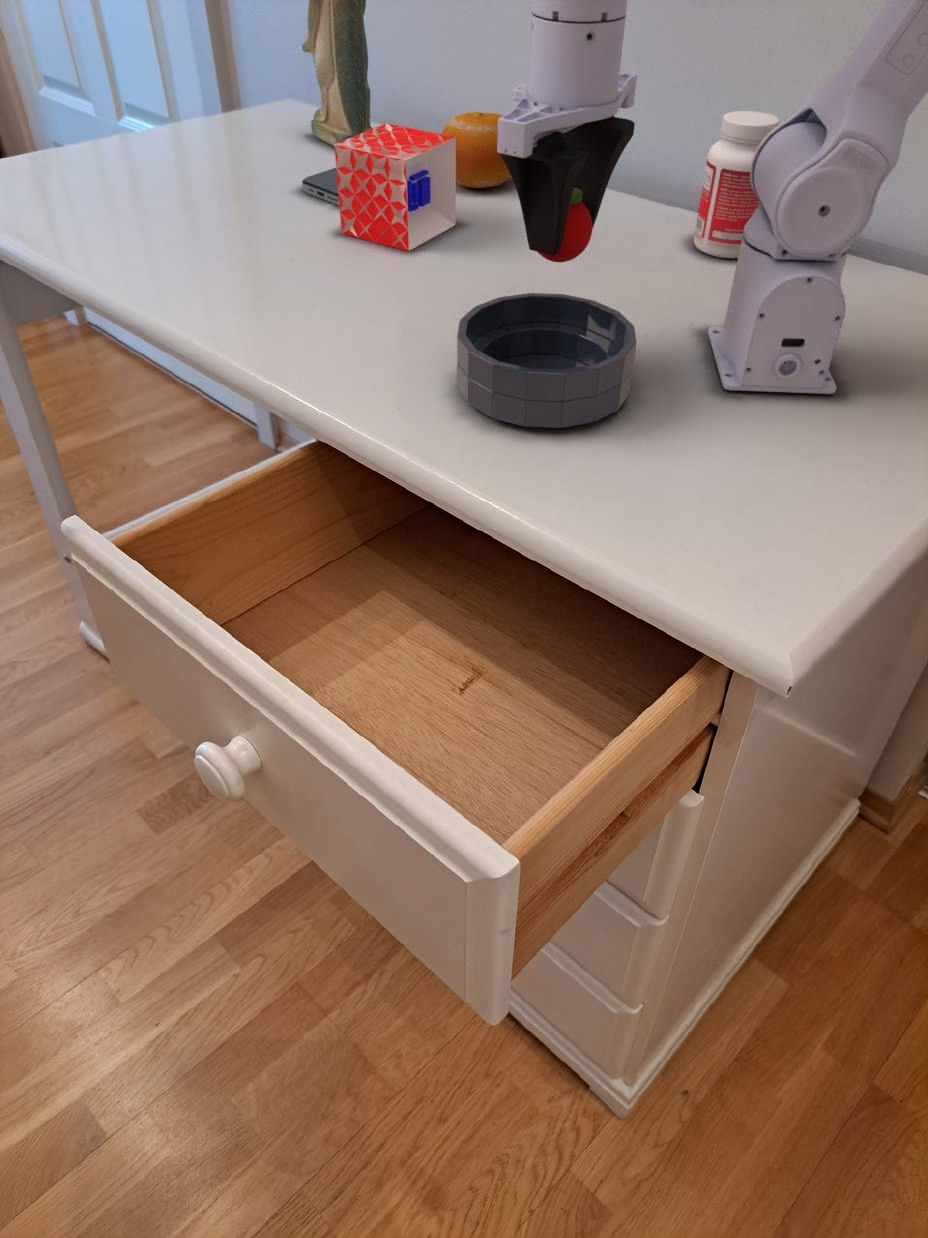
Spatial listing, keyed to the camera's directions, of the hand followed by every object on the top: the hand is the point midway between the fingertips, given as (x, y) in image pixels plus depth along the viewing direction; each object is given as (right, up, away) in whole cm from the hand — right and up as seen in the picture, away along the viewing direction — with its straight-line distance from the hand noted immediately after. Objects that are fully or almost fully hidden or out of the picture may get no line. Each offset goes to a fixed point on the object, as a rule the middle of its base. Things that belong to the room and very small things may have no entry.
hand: (561, 240), depth 65 cm
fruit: (-5, +20, +34) cm, 40 cm away
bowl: (-1, -10, +1) cm, 10 cm away
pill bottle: (+18, +8, +21) cm, 29 cm away
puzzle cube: (-13, +11, +24) cm, 29 cm away
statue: (-21, +30, +45) cm, 58 cm away
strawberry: (0, -1, +1) cm, 1 cm away
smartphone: (-16, +20, +34) cm, 42 cm away
